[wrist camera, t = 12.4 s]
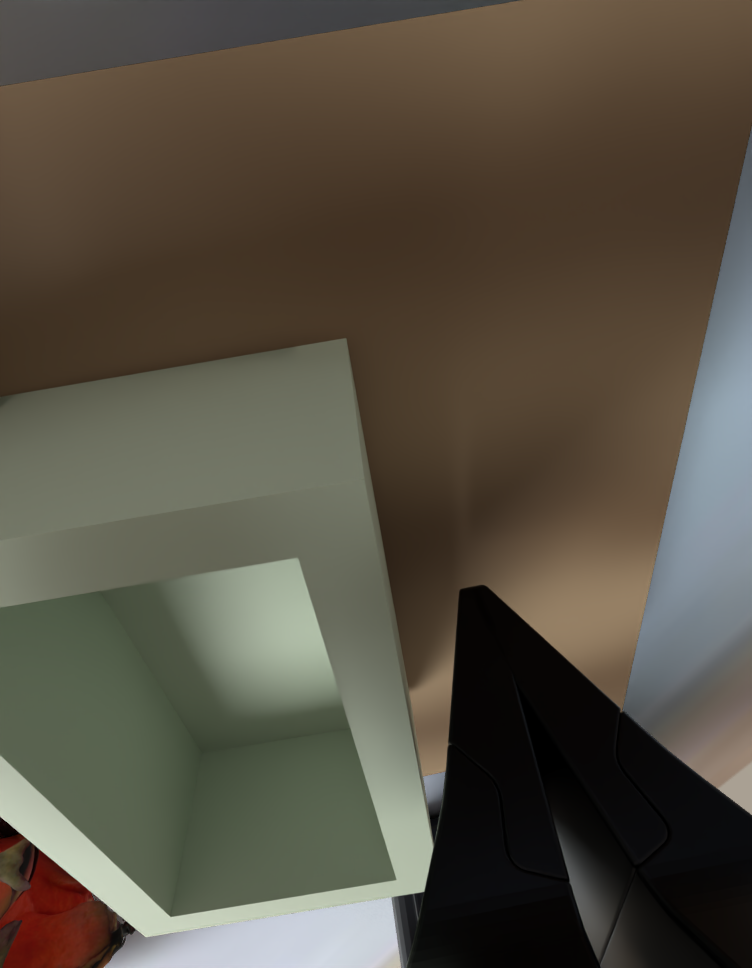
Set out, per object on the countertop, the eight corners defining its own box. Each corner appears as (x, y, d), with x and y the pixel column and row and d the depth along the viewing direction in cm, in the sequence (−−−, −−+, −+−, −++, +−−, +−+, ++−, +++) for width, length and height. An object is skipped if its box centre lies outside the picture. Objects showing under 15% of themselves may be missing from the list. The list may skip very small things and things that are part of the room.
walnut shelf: (574, 656, 19) (663, 816, 15) (197, 738, 19) (169, 931, 14) (651, 7, 9) (1019, -129, 4) (-171, 143, 8) (-698, 148, 4)
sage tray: (412, 706, 14) (440, 889, 10) (187, 743, 14) (145, 937, 10) (346, 338, 8) (364, 478, 5) (-33, 402, 8) (-278, 586, 5)
